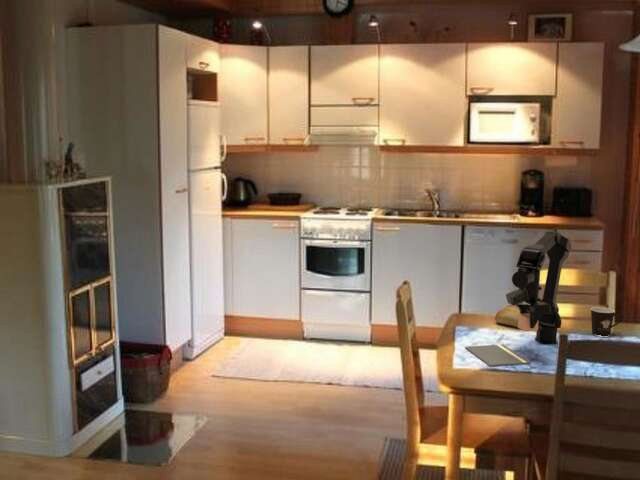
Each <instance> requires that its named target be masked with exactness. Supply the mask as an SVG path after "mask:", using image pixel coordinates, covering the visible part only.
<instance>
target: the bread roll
mask: <svg viewBox="0 0 640 480" xmlns="http://www.w3.org/2000/svg"><path fill="white" fill-rule="evenodd" d="M519 314H520V311H519V308H518V307H517V306H516V305H514V306H513V305H511V304H509V305H508V306H505V307H503V308H501V309H500V310H498V311H497V312H496V314H495V316H494V320H495V322H496V323H498V324H503V325H507V326H510V327H515V328H518V318H519Z"/></svg>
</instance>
